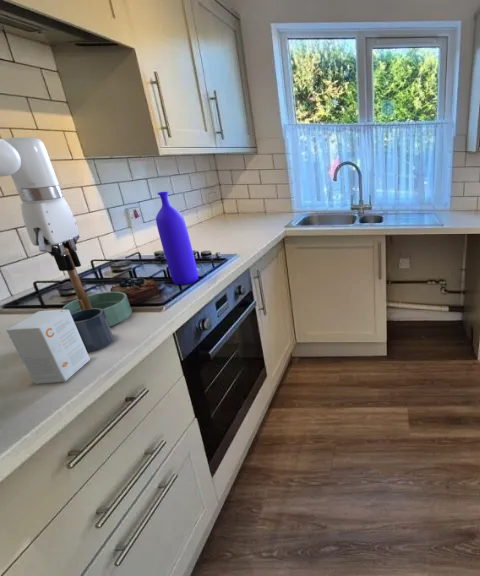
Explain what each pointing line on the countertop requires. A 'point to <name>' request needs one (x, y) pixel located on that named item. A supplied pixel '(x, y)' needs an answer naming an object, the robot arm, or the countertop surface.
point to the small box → (49, 346)
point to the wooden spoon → (78, 287)
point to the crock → (93, 328)
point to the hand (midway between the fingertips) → (70, 268)
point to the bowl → (106, 306)
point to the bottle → (176, 243)
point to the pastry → (136, 289)
